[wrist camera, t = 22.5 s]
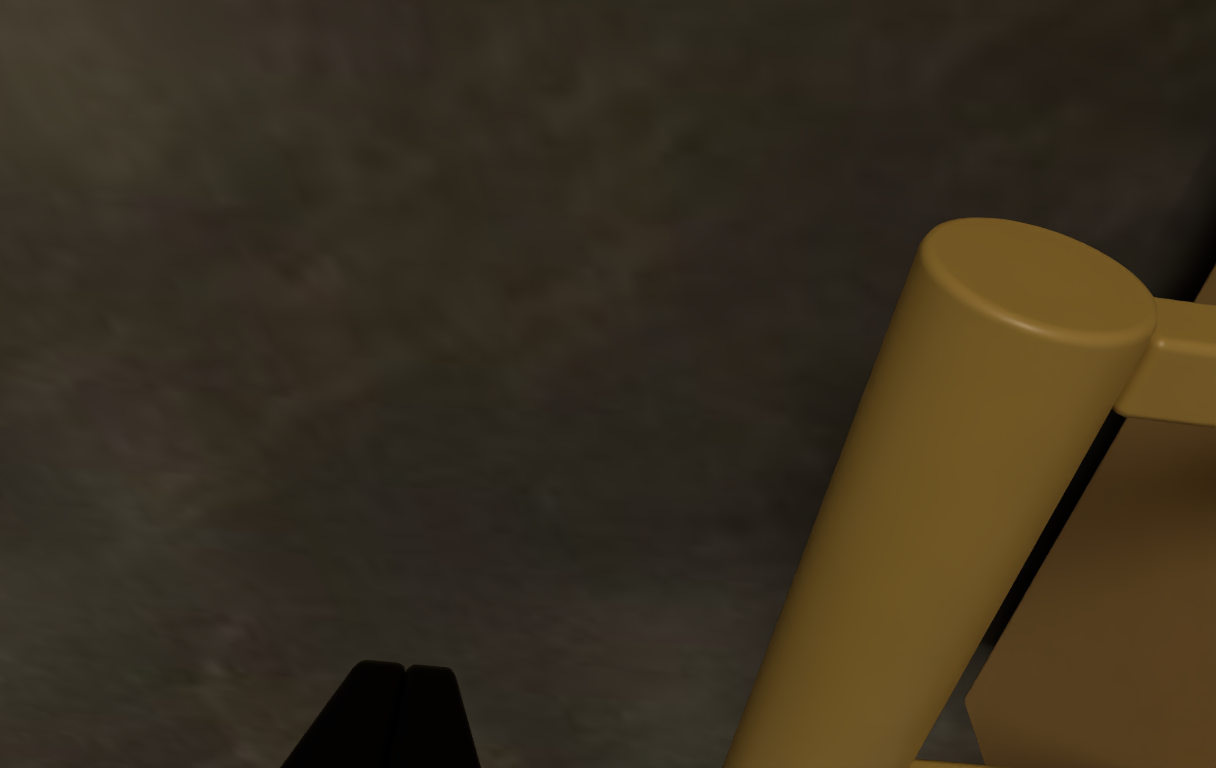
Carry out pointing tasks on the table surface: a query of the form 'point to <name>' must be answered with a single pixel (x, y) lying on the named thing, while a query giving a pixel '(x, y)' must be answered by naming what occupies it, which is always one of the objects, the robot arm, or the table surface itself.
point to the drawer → (1010, 525)
